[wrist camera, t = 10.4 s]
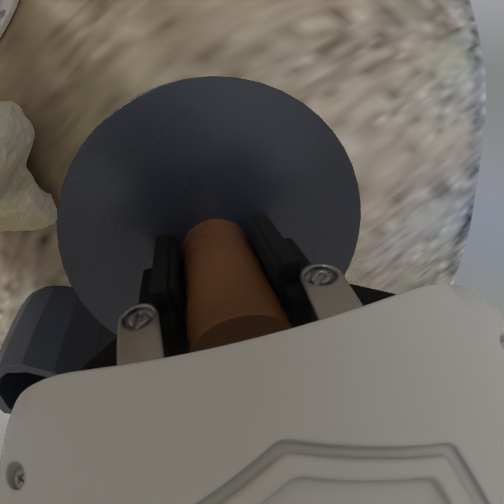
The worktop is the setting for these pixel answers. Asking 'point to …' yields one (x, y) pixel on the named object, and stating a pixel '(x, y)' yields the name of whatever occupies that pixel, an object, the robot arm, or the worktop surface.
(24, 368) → the pot
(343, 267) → the lid
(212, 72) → the worktop surface
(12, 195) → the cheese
